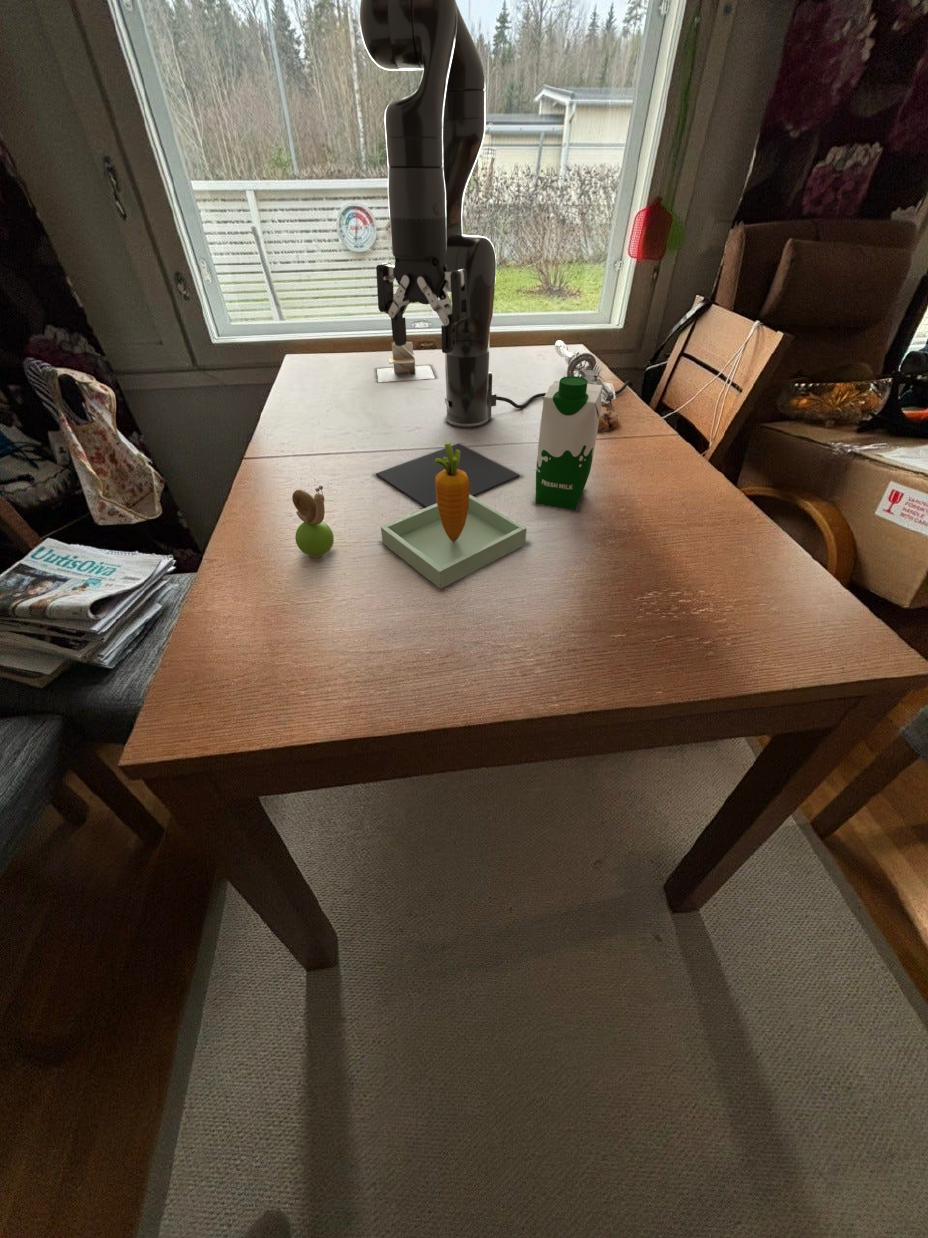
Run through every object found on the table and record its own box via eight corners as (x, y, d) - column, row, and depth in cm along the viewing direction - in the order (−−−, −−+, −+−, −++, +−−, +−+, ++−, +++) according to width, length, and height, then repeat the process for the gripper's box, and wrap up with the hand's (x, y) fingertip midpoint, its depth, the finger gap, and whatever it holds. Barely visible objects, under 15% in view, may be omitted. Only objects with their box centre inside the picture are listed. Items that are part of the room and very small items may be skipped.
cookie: (582, 411, 116) (584, 397, 114) (626, 421, 112) (628, 407, 110) (562, 425, 111) (564, 411, 108) (607, 436, 106) (610, 422, 104)
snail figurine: (323, 570, 73) (305, 496, 65) (292, 556, 76) (270, 483, 67) (349, 551, 76) (334, 478, 68) (318, 539, 79) (300, 467, 71)
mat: (458, 445, 104) (458, 443, 103) (519, 476, 93) (519, 474, 93) (376, 475, 94) (375, 473, 94) (434, 513, 84) (433, 511, 84)
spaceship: (574, 332, 137) (550, 322, 133) (634, 389, 114) (608, 378, 111) (559, 361, 142) (536, 352, 138) (614, 421, 119) (588, 412, 116)
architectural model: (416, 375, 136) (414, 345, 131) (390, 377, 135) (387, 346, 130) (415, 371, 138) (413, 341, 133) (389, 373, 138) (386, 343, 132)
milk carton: (529, 505, 86) (540, 382, 72) (540, 481, 92) (553, 363, 78) (580, 514, 84) (602, 389, 70) (589, 488, 90) (610, 369, 76)
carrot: (466, 552, 75) (465, 456, 65) (434, 548, 76) (428, 453, 66) (472, 533, 79) (472, 440, 68) (441, 530, 79) (437, 438, 69)
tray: (464, 507, 86) (464, 491, 84) (525, 544, 77) (526, 527, 75) (382, 543, 78) (380, 526, 76) (440, 589, 70) (439, 571, 68)
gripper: (478, 213, 66) (476, 349, 77) (390, 210, 72) (399, 337, 82) (449, 217, 62) (451, 361, 72) (357, 213, 67) (371, 347, 78)
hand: (423, 348), depth 77 cm, fingers open, 8 cm apart
